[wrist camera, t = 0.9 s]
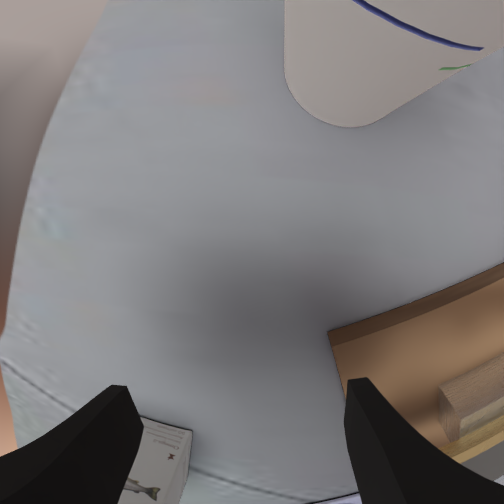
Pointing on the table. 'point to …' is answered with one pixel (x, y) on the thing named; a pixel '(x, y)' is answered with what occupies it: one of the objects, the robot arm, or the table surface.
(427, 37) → the cylindrical container
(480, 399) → the grey block
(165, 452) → the supplement box
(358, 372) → the wooden base
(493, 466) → the rubber mat
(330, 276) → the table surface
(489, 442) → the lever
